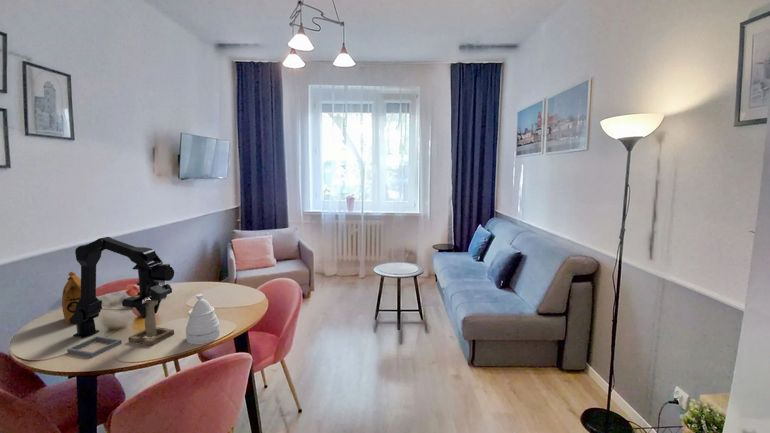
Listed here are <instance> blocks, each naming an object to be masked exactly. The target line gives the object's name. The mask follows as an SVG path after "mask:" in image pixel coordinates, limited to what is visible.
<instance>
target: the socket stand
mask: <svg viewBox="0 0 770 433" xmlns="http://www.w3.org/2000/svg"><path fill="white" fill-rule="evenodd" d="M146 334H147V333H146V330H145V329H143V330H141V331H139V332H136V333H135V334H133V335H130V336H128V343H133V344H138V345H145V346H150V347H154V346H155V345H156V344H158V343H161V341H165V340H166V339H168V338H169V337H171V336H173V335H175V329H172V328H164V327H159V326H156V334H159V335H157V336H154V337H152V338H149V337H147V335H146ZM146 337H147V338H146Z"/></svg>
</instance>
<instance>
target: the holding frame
mask: <svg viewBox="0 0 770 433" xmlns="http://www.w3.org/2000/svg"><path fill="white" fill-rule="evenodd" d="M98 341H99V342H104V343H105V342H106V343H110V344H107V345H105V346H103V347H101V348H99V349H96V350H95V351H92V352H91V351H87V350H86V351H85V350H81V349H82V348H84V347H86V346H88V345H91V344H93V343H95V342H98ZM121 344H122V339H118V338H112V337H108V336H106V337H105V336H100V335H97V336H94V337H93V338H90V339H88V340H85V341H83V342H81V343H78V344H75V345H74V346H72V347H69V348H66V350H67V354H73V355H77V356H82V357H87V358H94V357H96V356H98V355H100V354H103V353H105V352H106V351H109V350H111V349H113V348H115V347H118V346H119V345H121Z"/></svg>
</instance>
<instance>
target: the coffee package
mask: <svg viewBox="0 0 770 433" xmlns="http://www.w3.org/2000/svg"><path fill="white" fill-rule="evenodd" d="M68 276H69V277H68V278H67V280H68V281H67V282H66V283H65V285H64V286H63V290H62V296H61V308H62V313H63V314H62V315H63V317H64V322H65V324H67V325H72V324H71V323H70V321H69V319H70V318H71V317H72V316H73V315H74V314H75V309H76V305H77V303H78V302H79V300H80V298H81V277H79V276H78V275H77V274H76V273H75V272H73V271H70V272H69V273H68Z"/></svg>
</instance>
